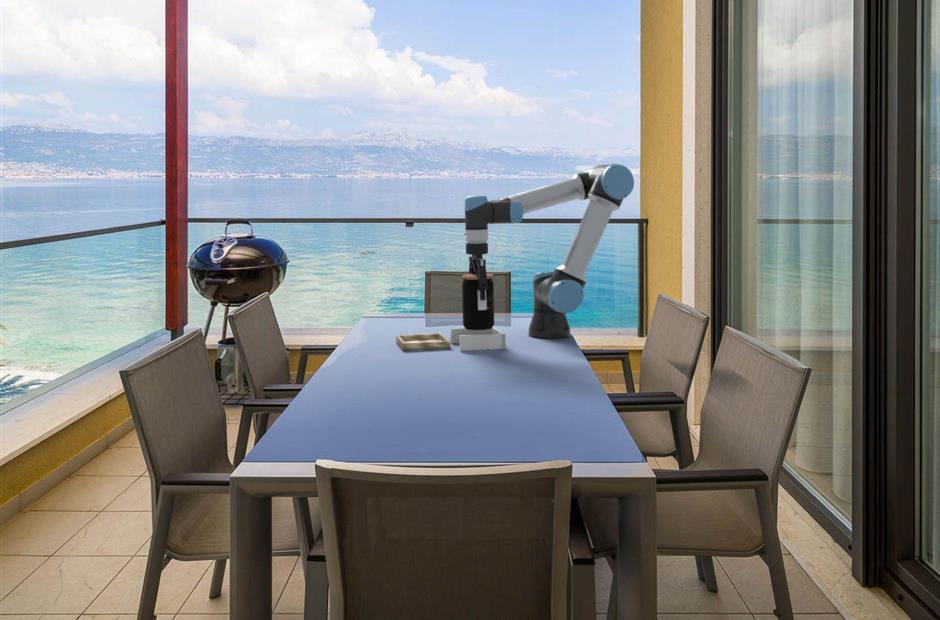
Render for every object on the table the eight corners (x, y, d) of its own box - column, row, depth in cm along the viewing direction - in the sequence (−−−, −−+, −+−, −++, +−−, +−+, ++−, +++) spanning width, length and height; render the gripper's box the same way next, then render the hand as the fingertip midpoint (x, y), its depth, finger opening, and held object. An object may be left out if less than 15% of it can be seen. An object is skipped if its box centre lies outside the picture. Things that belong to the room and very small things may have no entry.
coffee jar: (491, 330, 282) (490, 276, 280) (460, 330, 285) (458, 276, 282) (496, 325, 293) (495, 273, 290) (466, 325, 295) (465, 273, 292)
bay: (493, 340, 299) (493, 326, 298) (505, 348, 284) (505, 333, 283) (450, 342, 295) (450, 328, 294) (460, 350, 280) (460, 336, 280)
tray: (441, 340, 300) (441, 333, 299) (450, 348, 284) (450, 341, 284) (396, 342, 296) (396, 335, 296) (403, 351, 281) (402, 343, 280)
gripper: (458, 240, 295) (460, 303, 298) (473, 245, 272) (475, 313, 276) (479, 239, 296) (480, 302, 300) (496, 244, 274) (497, 311, 277)
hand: (478, 307), depth 288 cm, fingers closed on coffee jar, 11 cm apart
